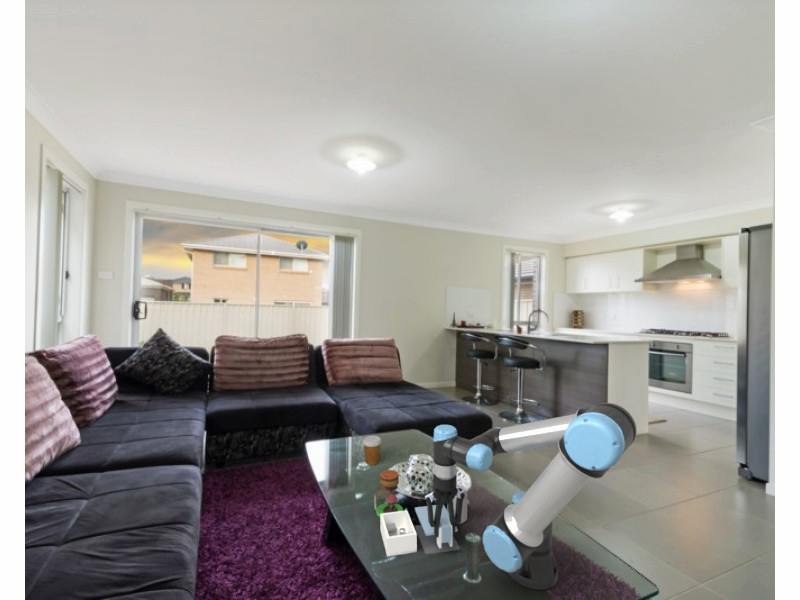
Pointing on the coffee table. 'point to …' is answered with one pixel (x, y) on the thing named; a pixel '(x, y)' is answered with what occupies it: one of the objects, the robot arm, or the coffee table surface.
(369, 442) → the disposable coffee cup
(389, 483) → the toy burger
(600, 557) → the coffee table surface
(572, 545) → the coffee table surface
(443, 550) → the mat
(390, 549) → the tub
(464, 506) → the can
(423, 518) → the lid
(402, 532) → the parts
